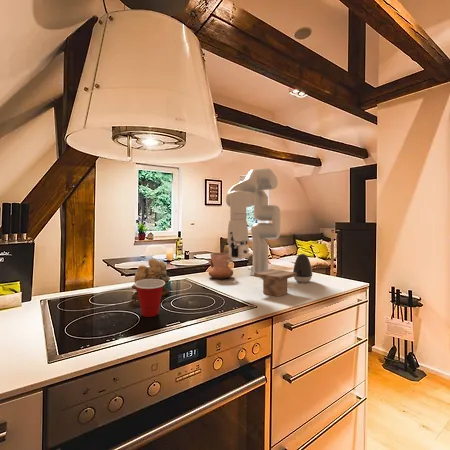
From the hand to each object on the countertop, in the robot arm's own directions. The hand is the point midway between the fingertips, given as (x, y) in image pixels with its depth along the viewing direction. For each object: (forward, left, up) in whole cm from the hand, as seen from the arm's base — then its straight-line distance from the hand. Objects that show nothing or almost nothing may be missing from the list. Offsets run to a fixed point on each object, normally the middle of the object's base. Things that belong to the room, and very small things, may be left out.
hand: (238, 255), depth 134 cm
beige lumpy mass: (-26, -30, -18) cm, 43 cm away
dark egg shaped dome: (+12, +40, -17) cm, 45 cm away
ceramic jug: (-29, +18, -17) cm, 38 cm away
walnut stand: (+14, +10, -17) cm, 24 cm away
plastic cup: (-4, -45, -17) cm, 49 cm away
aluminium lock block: (0, 0, -1) cm, 1 cm away
